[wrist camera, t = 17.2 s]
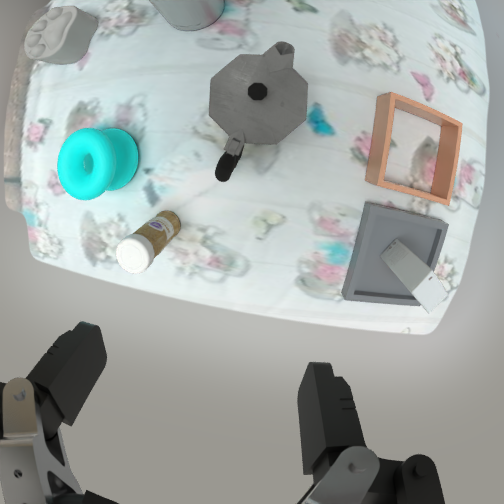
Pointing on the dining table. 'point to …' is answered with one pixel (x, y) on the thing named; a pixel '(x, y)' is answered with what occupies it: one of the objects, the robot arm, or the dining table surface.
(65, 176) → the donuts
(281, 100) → the coffeepot
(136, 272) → the sprinkles bottle
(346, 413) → the robot arm
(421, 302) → the skincare box
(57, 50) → the lumpy-topped squat cylinder
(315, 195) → the dining table surface
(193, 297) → the dining table surface
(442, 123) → the orange square frame
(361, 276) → the grey tray
